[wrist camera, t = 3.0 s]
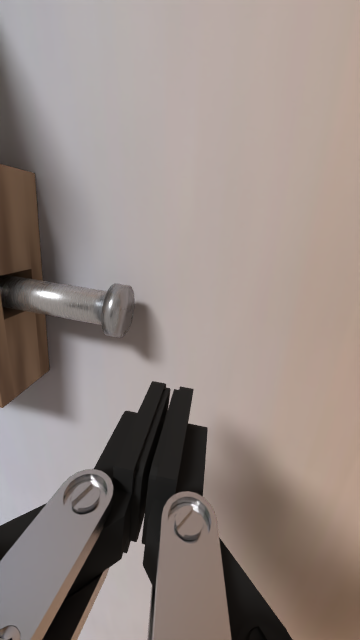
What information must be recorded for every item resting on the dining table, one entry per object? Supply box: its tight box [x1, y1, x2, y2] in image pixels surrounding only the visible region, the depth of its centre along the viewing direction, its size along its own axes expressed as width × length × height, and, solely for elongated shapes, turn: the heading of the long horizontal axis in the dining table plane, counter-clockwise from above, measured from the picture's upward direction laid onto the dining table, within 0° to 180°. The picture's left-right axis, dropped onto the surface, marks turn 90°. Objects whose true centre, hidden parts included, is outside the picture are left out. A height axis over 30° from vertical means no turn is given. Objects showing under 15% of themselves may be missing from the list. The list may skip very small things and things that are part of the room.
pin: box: [0, 275, 134, 338], centre depth 20 cm, size 12×4×4 cm, turn 83°
